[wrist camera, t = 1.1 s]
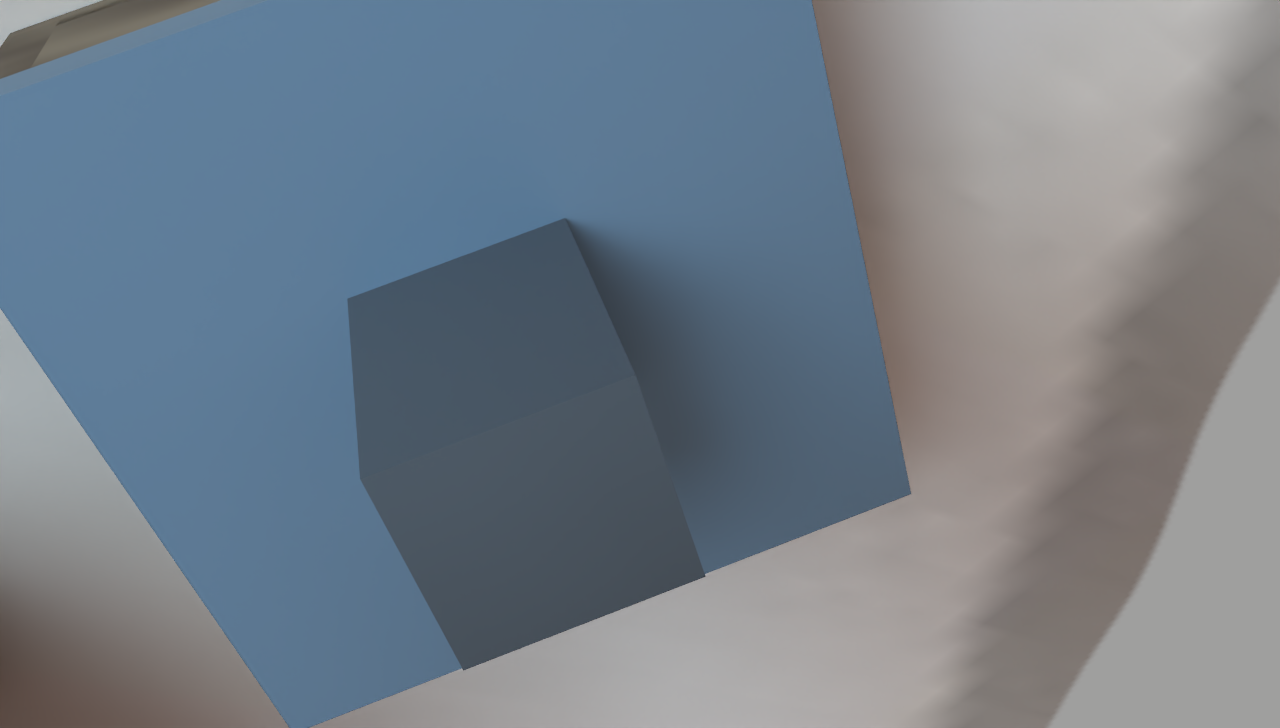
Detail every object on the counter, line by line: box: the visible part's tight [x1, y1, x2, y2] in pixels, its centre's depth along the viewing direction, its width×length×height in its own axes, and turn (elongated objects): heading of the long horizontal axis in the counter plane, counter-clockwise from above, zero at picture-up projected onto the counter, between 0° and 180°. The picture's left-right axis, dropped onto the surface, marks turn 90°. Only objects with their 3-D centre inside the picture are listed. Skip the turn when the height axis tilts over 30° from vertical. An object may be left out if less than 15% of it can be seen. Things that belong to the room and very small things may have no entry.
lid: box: [0, 0, 911, 728], centre depth 16 cm, size 11×11×6 cm
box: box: [0, 0, 220, 79], centre depth 19 cm, size 10×10×4 cm
